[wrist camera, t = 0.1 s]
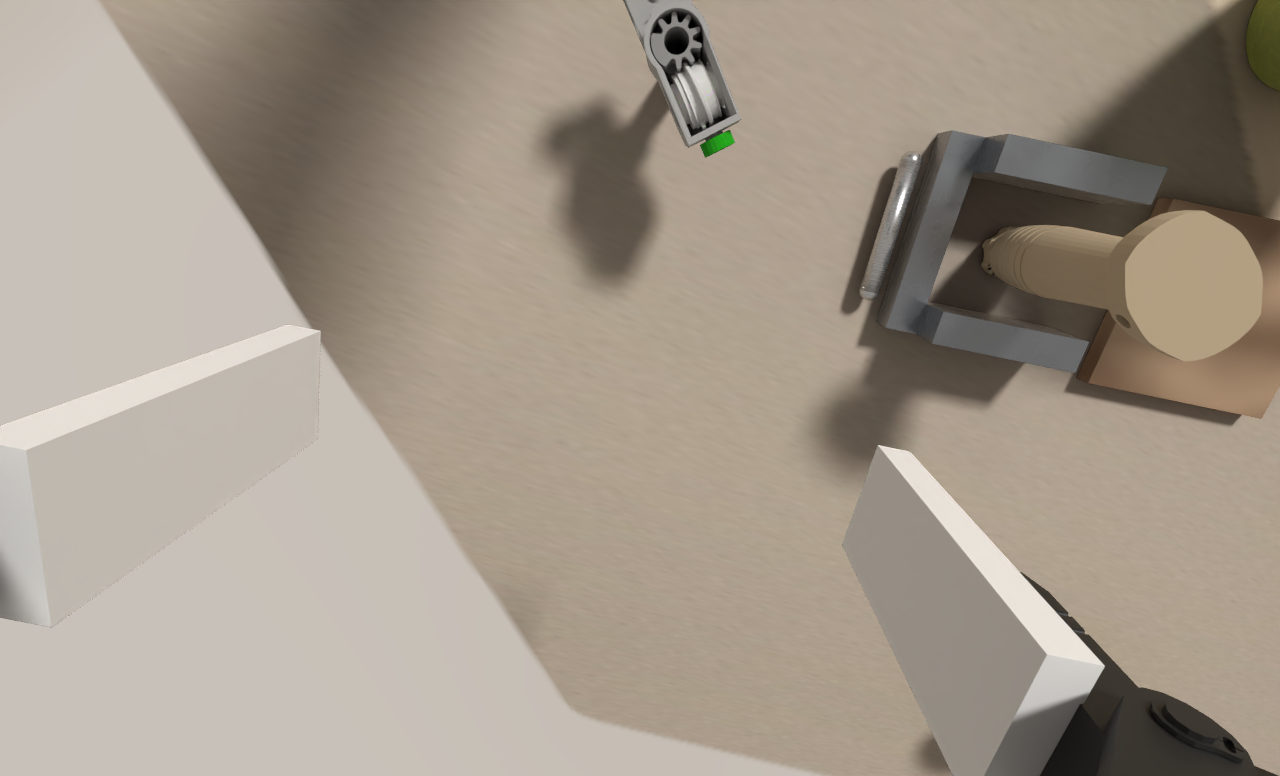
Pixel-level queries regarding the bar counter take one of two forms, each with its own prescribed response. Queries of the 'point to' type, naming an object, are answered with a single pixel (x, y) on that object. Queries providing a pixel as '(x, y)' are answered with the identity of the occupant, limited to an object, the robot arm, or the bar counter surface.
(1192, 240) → the handle
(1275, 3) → the flower pot
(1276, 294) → the walnut board
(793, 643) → the bar counter surface
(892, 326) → the vise
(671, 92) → the mechanical component
